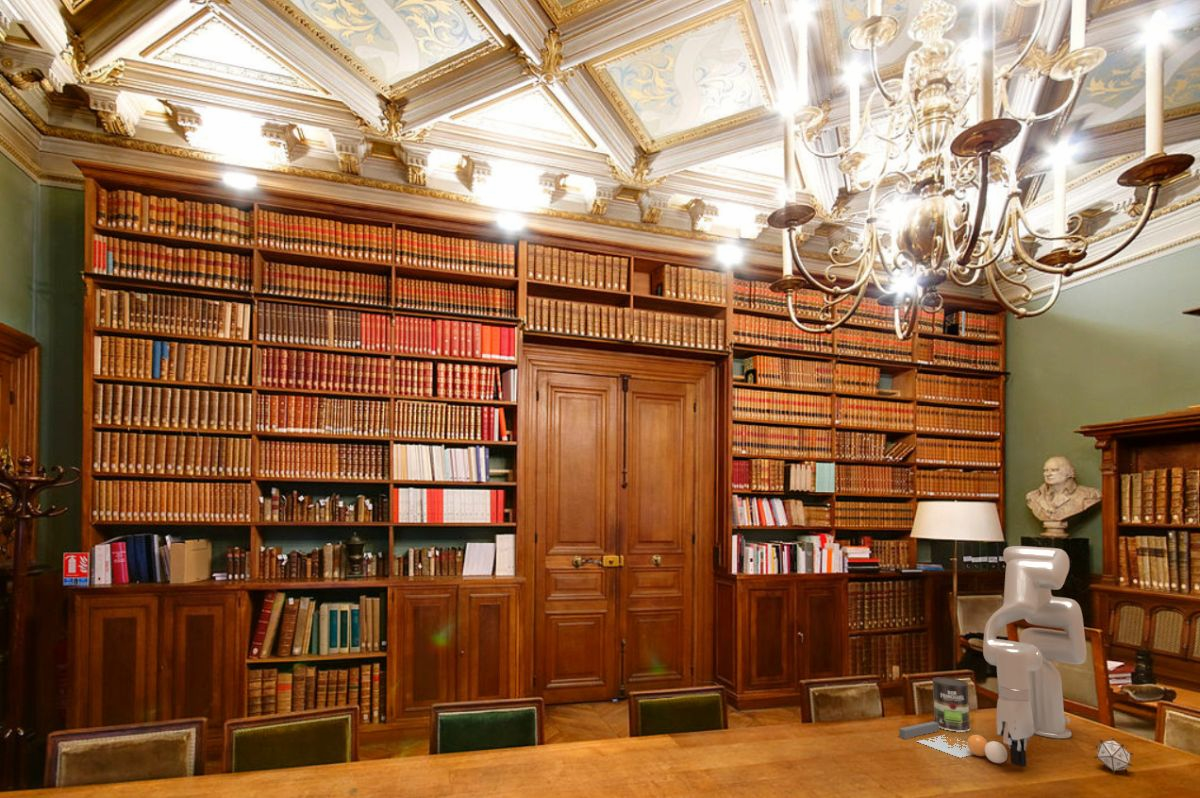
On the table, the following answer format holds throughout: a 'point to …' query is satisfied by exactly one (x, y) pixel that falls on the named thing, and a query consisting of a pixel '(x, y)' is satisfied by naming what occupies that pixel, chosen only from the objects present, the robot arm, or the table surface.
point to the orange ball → (977, 745)
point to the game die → (1113, 755)
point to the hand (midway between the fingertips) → (1018, 764)
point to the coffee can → (951, 704)
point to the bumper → (918, 729)
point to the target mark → (944, 747)
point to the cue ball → (995, 752)
